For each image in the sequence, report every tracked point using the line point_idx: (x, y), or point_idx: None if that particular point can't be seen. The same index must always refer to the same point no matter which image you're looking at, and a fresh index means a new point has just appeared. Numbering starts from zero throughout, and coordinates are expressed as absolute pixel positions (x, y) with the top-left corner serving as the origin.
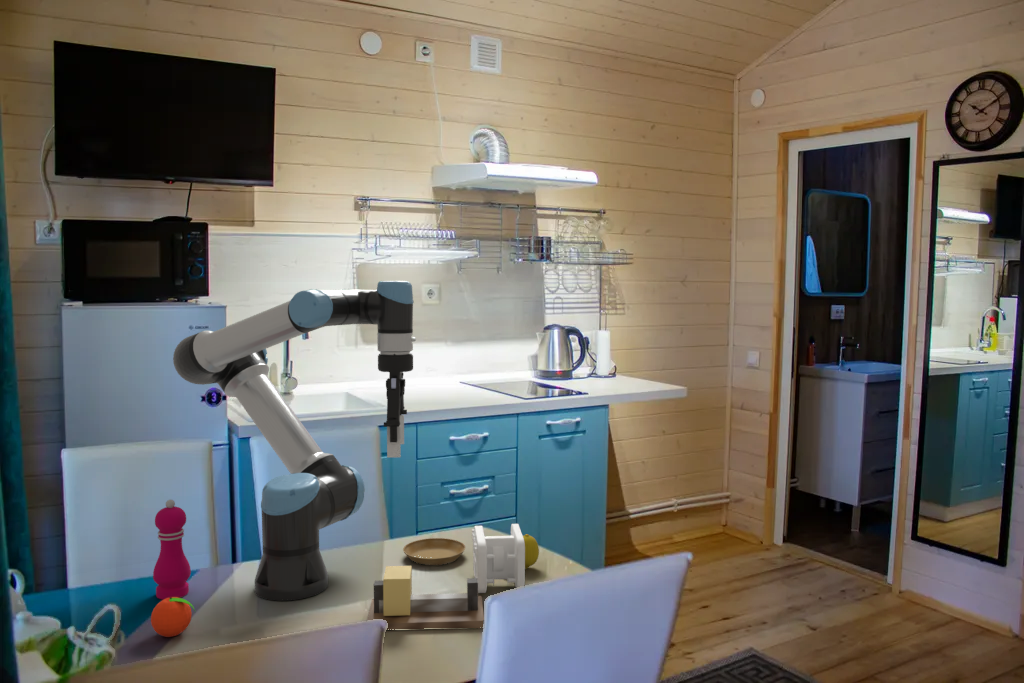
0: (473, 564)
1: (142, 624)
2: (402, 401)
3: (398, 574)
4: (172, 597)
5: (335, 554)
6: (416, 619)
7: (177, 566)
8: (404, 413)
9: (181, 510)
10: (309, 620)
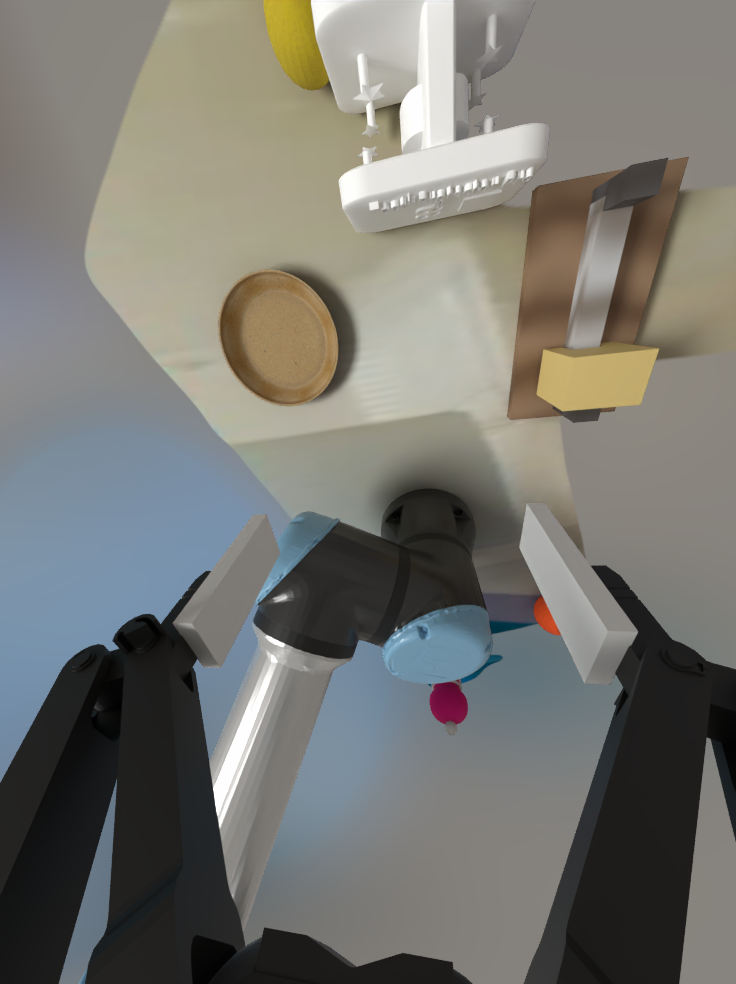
0: (378, 228)
1: (514, 621)
2: (176, 759)
3: (621, 378)
4: (556, 630)
5: (301, 501)
6: (625, 326)
7: None
8: (160, 630)
9: (449, 710)
10: (542, 487)
